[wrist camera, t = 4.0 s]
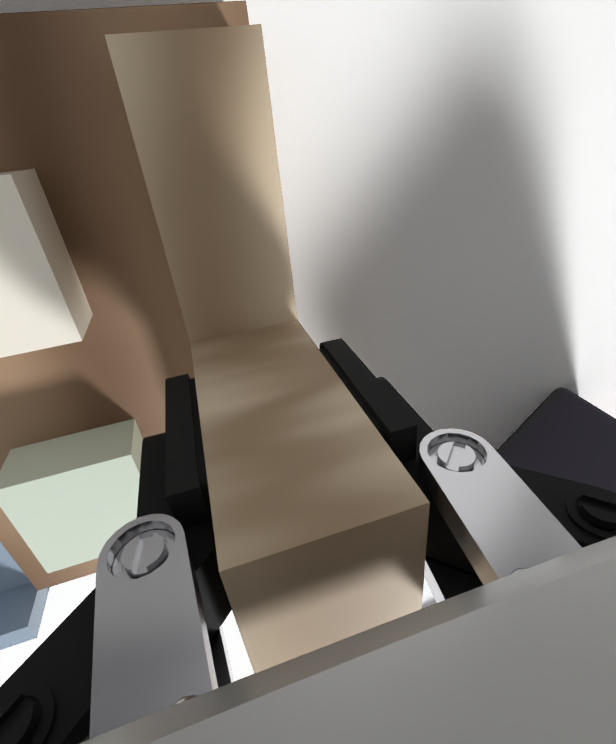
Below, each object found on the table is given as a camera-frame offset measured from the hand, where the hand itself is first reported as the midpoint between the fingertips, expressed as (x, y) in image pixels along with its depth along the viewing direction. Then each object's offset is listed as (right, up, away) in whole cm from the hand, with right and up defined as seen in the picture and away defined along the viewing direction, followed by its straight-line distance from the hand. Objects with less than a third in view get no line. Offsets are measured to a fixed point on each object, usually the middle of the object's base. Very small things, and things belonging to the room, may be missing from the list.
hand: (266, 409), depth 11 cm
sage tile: (-7, -3, +4) cm, 9 cm away
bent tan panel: (-1, +2, +3) cm, 4 cm away
